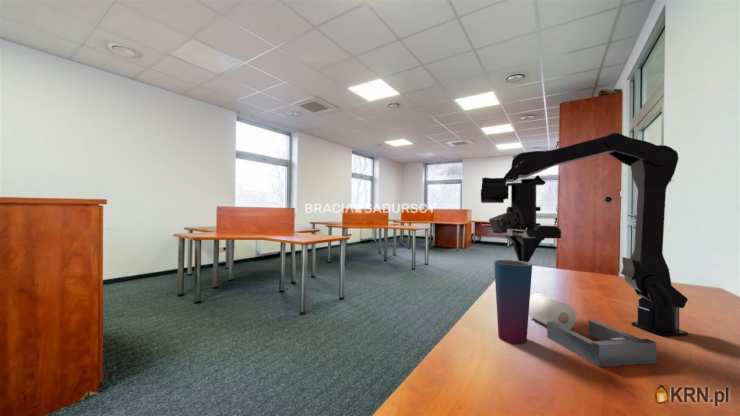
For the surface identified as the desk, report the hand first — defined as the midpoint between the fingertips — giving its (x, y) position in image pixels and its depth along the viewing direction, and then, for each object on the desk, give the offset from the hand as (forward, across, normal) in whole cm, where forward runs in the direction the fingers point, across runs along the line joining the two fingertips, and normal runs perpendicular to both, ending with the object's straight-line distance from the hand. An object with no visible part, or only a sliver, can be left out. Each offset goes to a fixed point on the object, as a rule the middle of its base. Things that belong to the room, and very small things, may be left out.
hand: (523, 263), depth 74 cm
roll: (+12, +9, 0) cm, 15 cm away
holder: (+12, +20, 0) cm, 23 cm away
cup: (+12, +15, -13) cm, 23 cm away
